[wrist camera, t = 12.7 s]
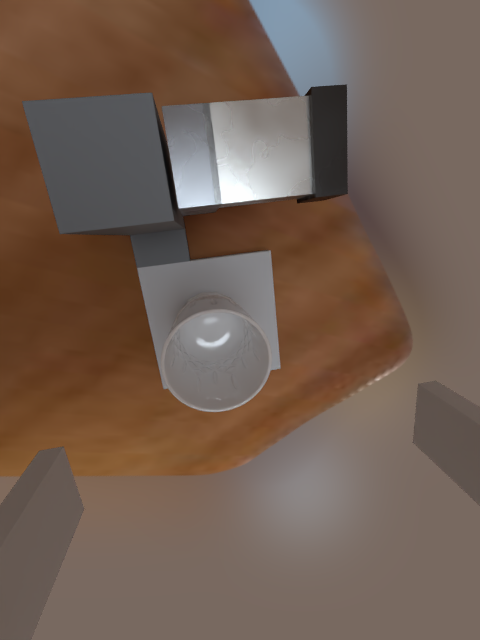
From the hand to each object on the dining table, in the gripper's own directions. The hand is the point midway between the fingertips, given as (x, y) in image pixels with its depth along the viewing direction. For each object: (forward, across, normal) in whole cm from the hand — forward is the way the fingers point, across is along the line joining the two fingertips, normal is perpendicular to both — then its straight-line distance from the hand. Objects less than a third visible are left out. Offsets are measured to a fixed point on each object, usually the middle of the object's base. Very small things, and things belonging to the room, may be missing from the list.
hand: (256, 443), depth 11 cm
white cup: (+20, -1, -1) cm, 20 cm away
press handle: (+10, +2, +11) cm, 15 cm away
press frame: (+21, 0, +3) cm, 22 cm away
